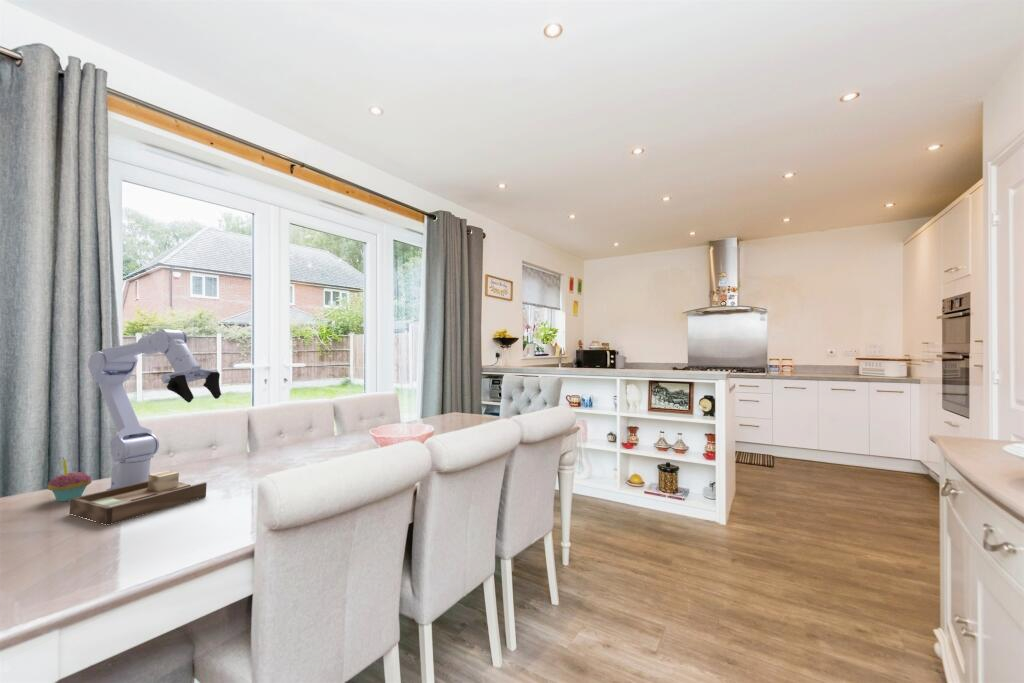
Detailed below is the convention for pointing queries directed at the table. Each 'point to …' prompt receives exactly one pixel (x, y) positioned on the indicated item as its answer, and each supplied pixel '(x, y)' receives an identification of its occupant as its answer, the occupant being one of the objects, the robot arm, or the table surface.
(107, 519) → the trap track
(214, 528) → the table surface
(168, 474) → the birch block
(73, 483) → the cupcake
